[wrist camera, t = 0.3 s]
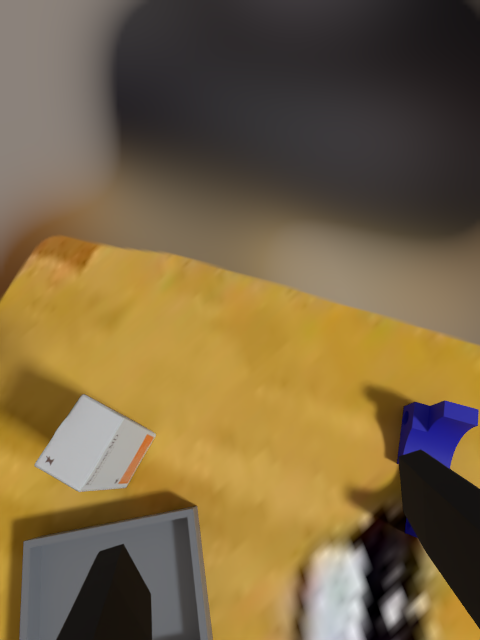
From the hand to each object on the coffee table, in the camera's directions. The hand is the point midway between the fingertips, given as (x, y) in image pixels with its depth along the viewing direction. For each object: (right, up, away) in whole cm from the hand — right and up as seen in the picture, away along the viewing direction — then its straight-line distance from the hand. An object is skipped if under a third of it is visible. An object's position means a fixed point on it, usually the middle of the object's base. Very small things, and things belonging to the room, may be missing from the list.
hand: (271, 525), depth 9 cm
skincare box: (-13, -8, +29) cm, 33 cm away
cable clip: (+17, -10, +29) cm, 35 cm away
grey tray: (-12, -19, +25) cm, 33 cm away
